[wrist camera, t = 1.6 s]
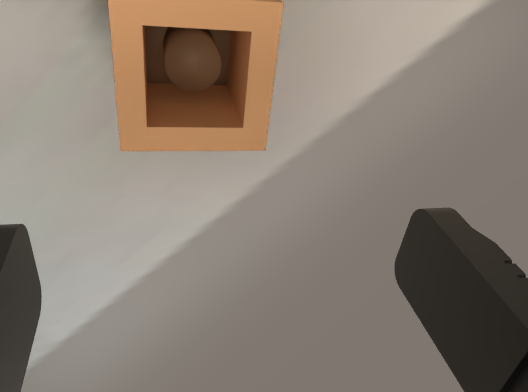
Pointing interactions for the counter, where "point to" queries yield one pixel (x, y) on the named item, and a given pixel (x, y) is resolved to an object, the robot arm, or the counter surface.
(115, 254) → the counter surface
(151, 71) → the stand
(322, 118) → the counter surface
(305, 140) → the counter surface
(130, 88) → the orange square tube
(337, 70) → the counter surface
